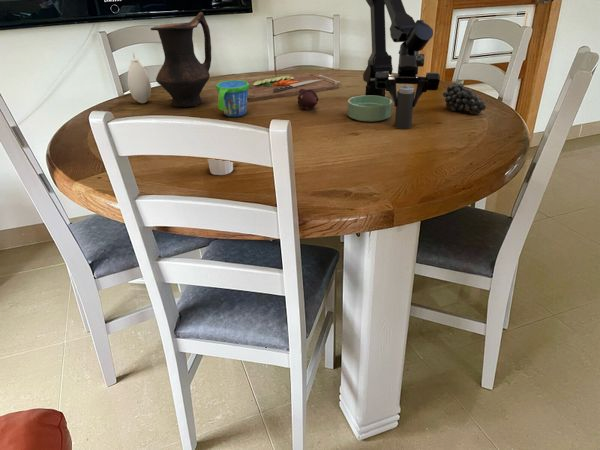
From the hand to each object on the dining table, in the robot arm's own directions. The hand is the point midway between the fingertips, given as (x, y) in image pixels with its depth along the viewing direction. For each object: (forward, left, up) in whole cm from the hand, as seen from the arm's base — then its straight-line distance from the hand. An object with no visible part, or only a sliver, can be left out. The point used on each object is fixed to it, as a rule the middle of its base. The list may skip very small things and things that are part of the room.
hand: (404, 106), depth 136 cm
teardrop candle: (+65, -72, -7) cm, 97 cm away
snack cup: (+40, -40, -7) cm, 56 cm away
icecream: (+16, -33, -7) cm, 37 cm away
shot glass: (+59, +4, -7) cm, 59 cm away
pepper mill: (-1, -1, -7) cm, 7 cm away
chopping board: (+11, -66, -7) cm, 67 cm away
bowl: (+2, -15, -7) cm, 17 cm away
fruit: (-27, -4, -7) cm, 28 cm away
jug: (+50, -61, -7) cm, 79 cm away
